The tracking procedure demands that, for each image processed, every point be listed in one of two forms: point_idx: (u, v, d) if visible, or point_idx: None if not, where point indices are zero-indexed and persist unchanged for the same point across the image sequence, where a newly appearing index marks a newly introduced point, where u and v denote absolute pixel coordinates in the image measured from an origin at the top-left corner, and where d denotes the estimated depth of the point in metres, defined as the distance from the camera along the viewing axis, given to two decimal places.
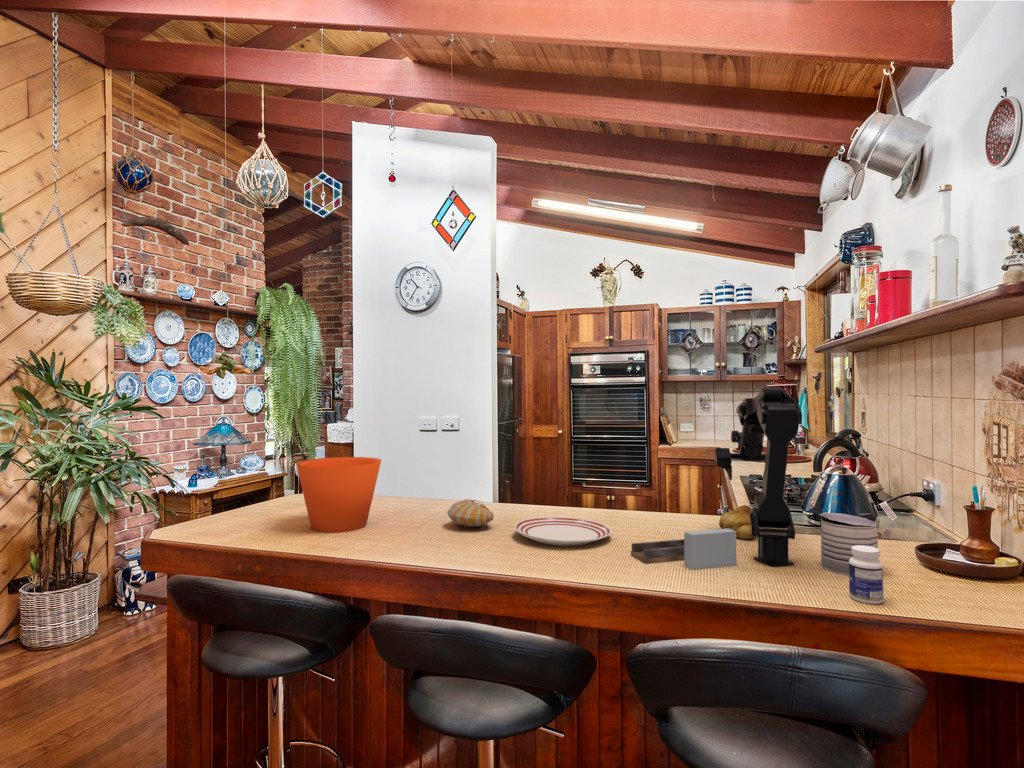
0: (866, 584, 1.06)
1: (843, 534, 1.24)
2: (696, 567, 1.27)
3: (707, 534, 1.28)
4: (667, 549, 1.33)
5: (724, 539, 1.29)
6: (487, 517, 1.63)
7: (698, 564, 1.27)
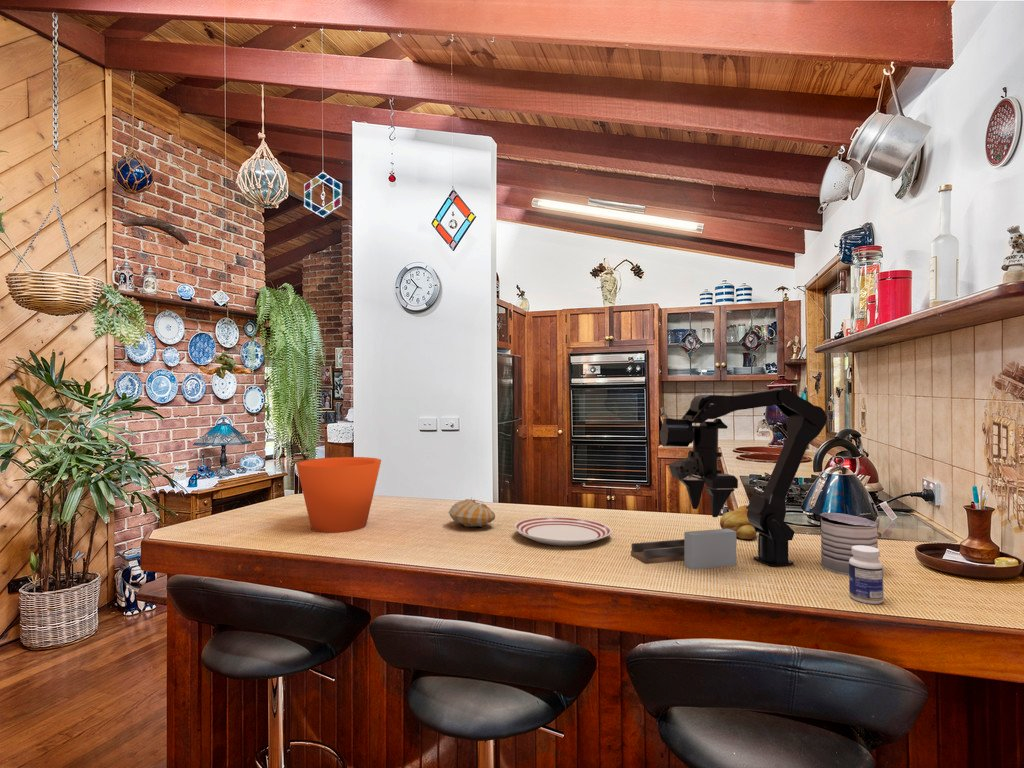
0: (866, 584, 1.06)
1: (843, 534, 1.24)
2: (696, 567, 1.27)
3: (707, 534, 1.28)
4: (667, 549, 1.33)
5: (724, 539, 1.29)
6: (489, 517, 1.63)
7: (698, 564, 1.27)
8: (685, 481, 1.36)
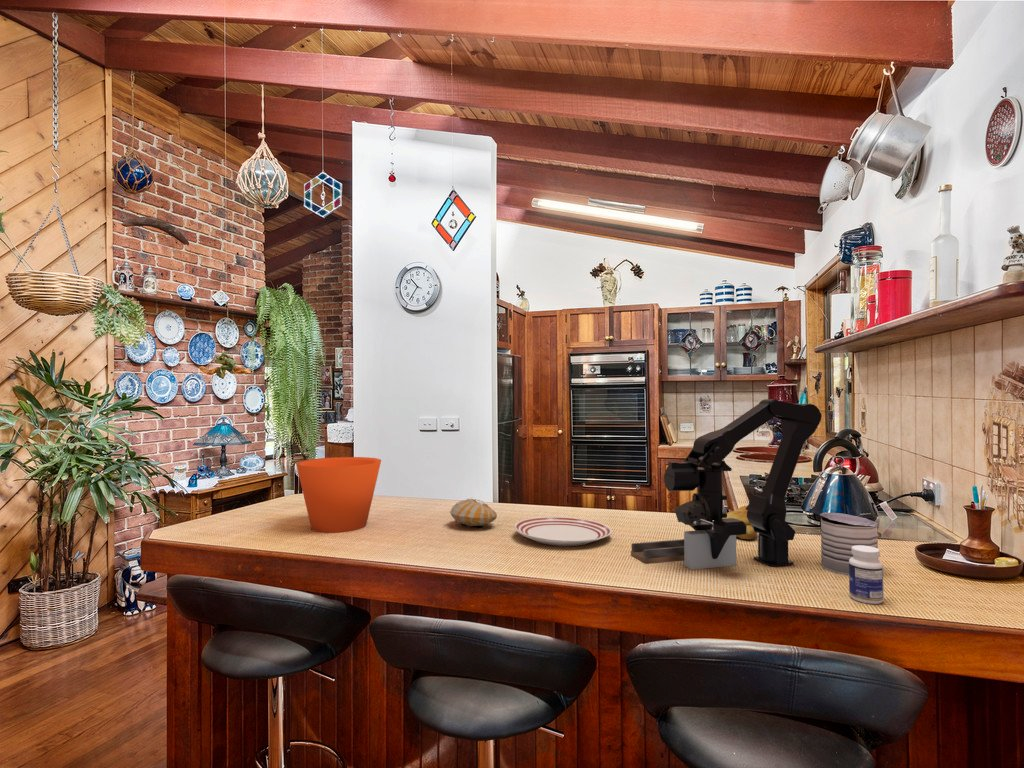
0: (866, 584, 1.06)
1: (843, 534, 1.23)
2: (696, 567, 1.27)
3: (707, 534, 1.28)
4: (667, 549, 1.33)
5: None
6: (491, 517, 1.64)
7: (697, 564, 1.27)
8: (696, 526, 1.32)
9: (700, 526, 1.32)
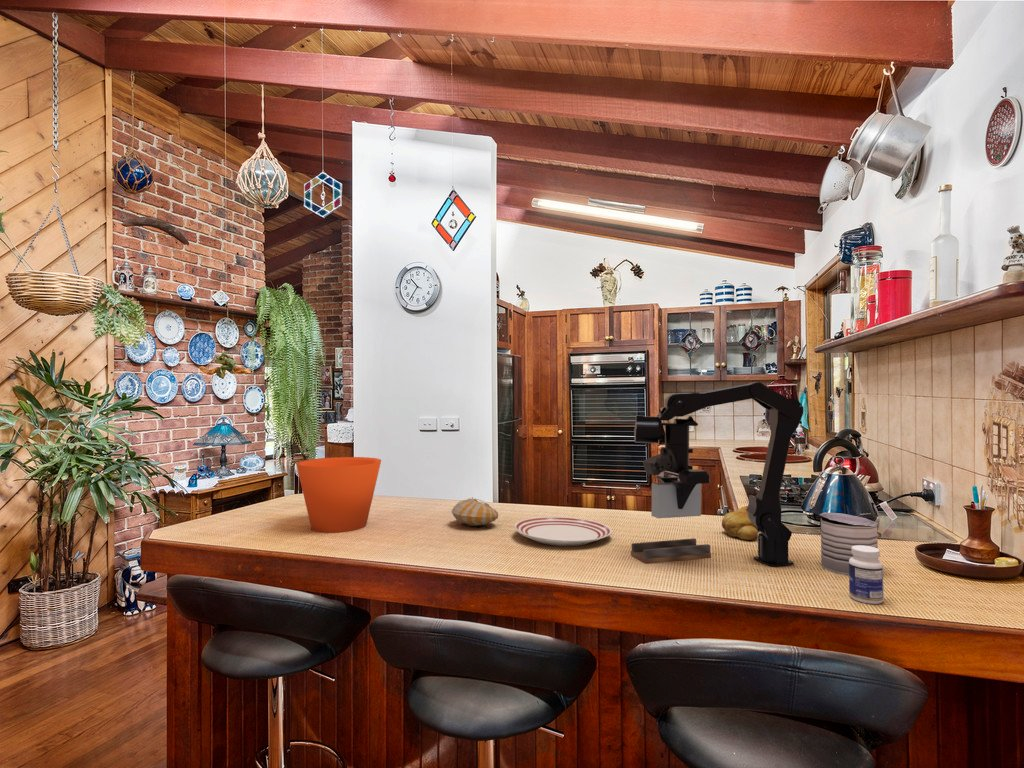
0: (866, 584, 1.06)
1: (843, 534, 1.24)
2: (662, 516, 1.33)
3: (673, 485, 1.34)
4: (667, 549, 1.33)
5: None
6: (493, 516, 1.65)
7: (663, 513, 1.33)
8: (663, 479, 1.37)
9: (667, 479, 1.38)
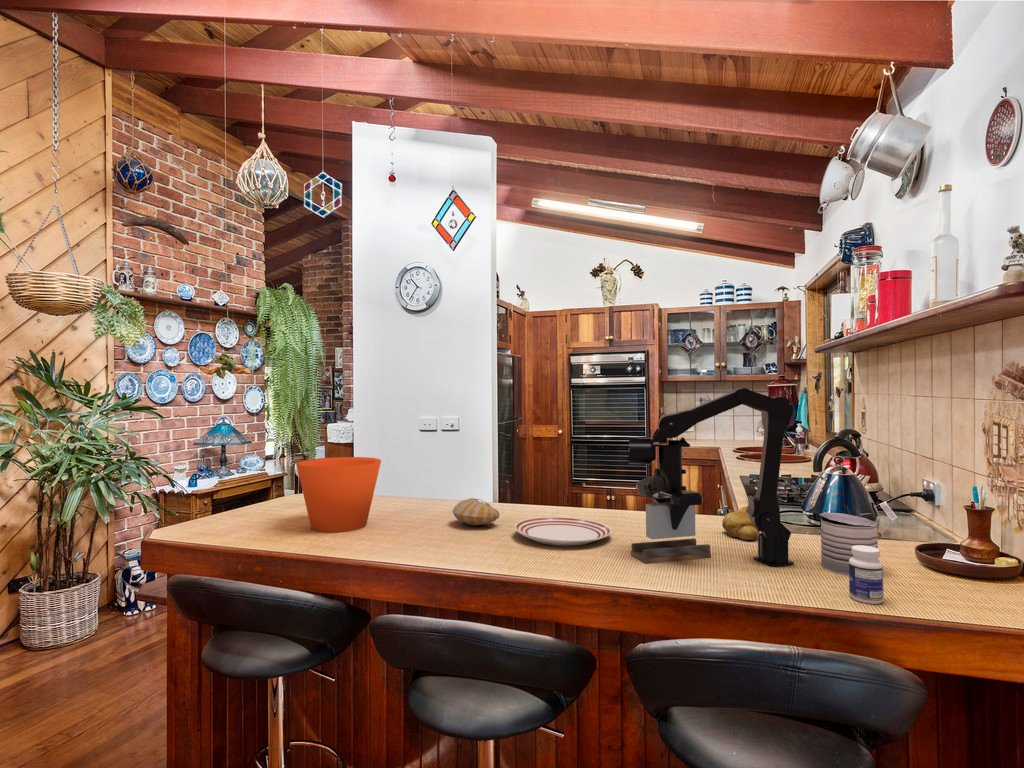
0: (866, 584, 1.06)
1: (843, 534, 1.23)
2: (656, 537, 1.35)
3: None
4: (667, 549, 1.33)
5: None
6: (494, 516, 1.65)
7: (658, 534, 1.35)
8: (657, 499, 1.39)
9: (662, 499, 1.39)
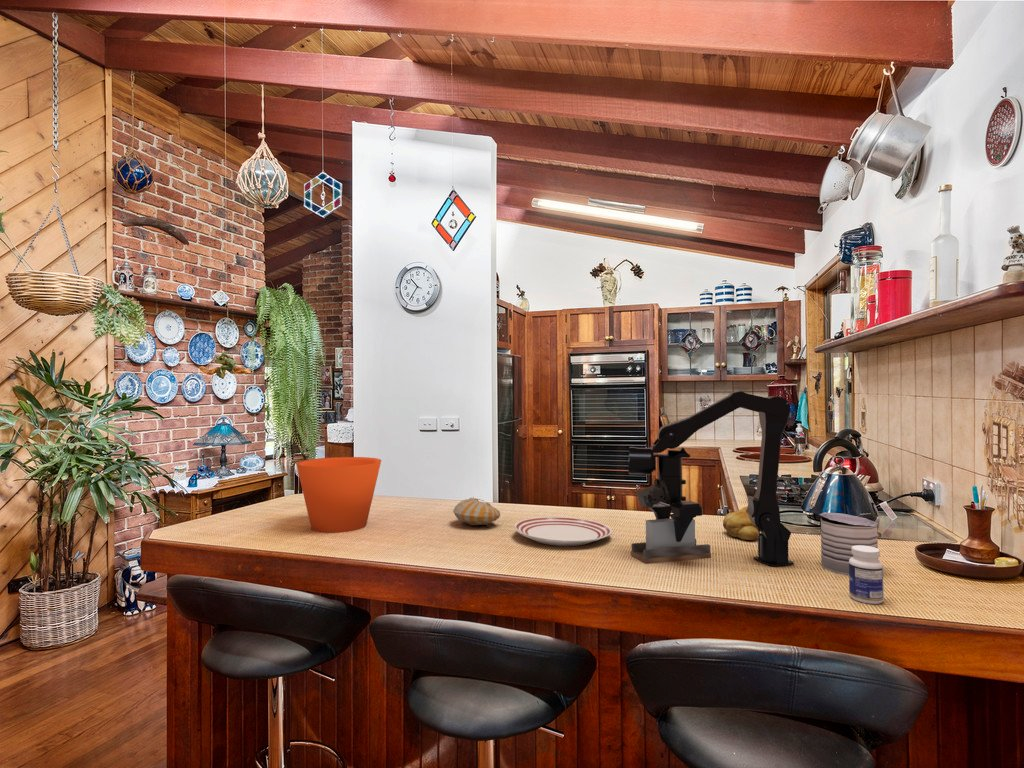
0: (866, 584, 1.06)
1: (843, 534, 1.24)
2: None
3: (667, 522, 1.36)
4: (667, 549, 1.33)
5: None
6: (495, 515, 1.66)
7: None
8: (653, 508, 1.41)
9: (658, 508, 1.41)
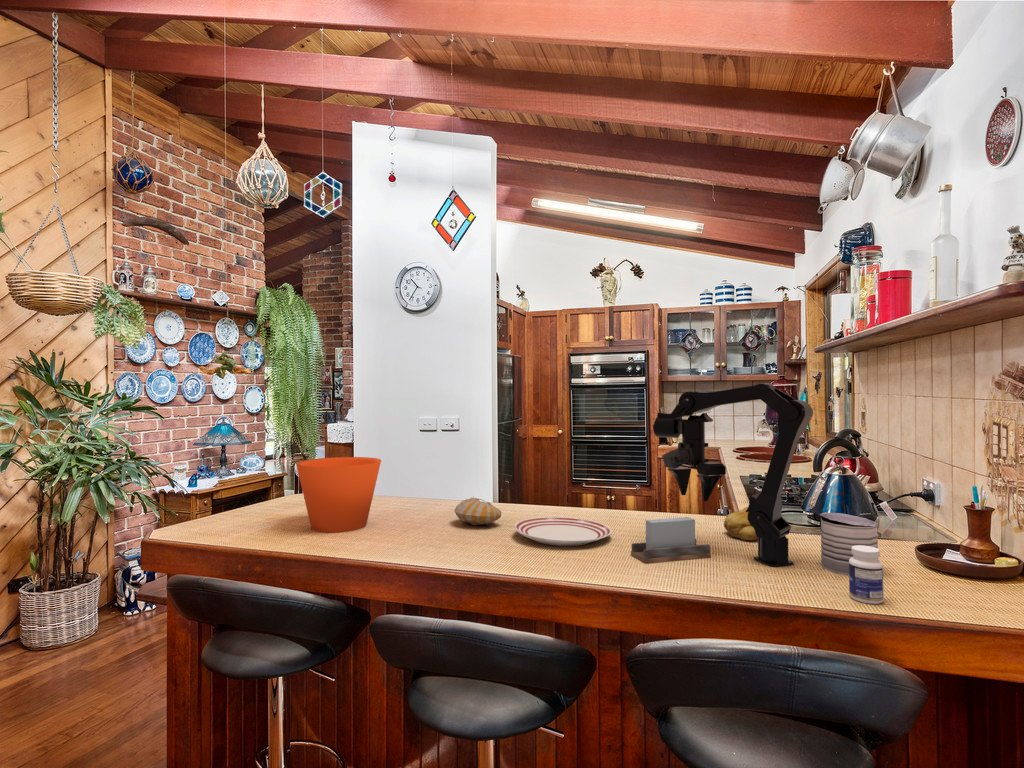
0: (866, 584, 1.06)
1: (843, 534, 1.23)
2: None
3: (667, 522, 1.36)
4: (667, 549, 1.33)
5: (684, 526, 1.37)
6: (497, 515, 1.66)
7: None
8: (674, 470, 1.50)
9: (678, 470, 1.51)
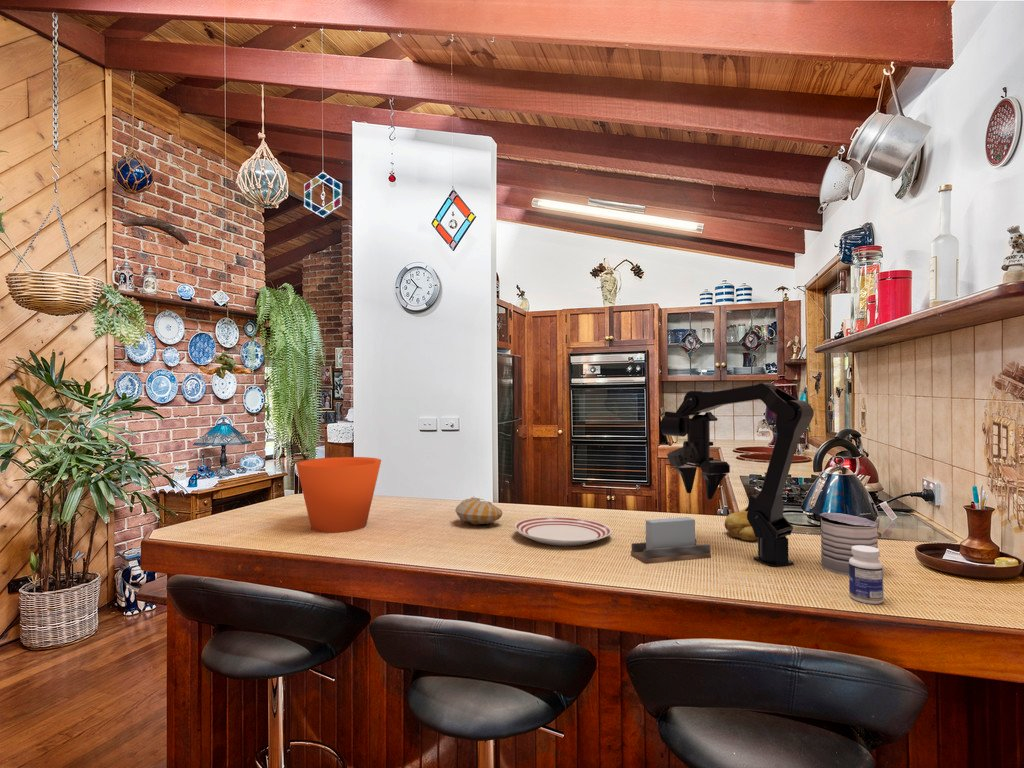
0: (866, 584, 1.06)
1: (843, 534, 1.23)
2: None
3: (667, 522, 1.36)
4: (667, 549, 1.33)
5: (684, 526, 1.37)
6: (498, 514, 1.67)
7: None
8: (680, 468, 1.52)
9: (684, 468, 1.53)
